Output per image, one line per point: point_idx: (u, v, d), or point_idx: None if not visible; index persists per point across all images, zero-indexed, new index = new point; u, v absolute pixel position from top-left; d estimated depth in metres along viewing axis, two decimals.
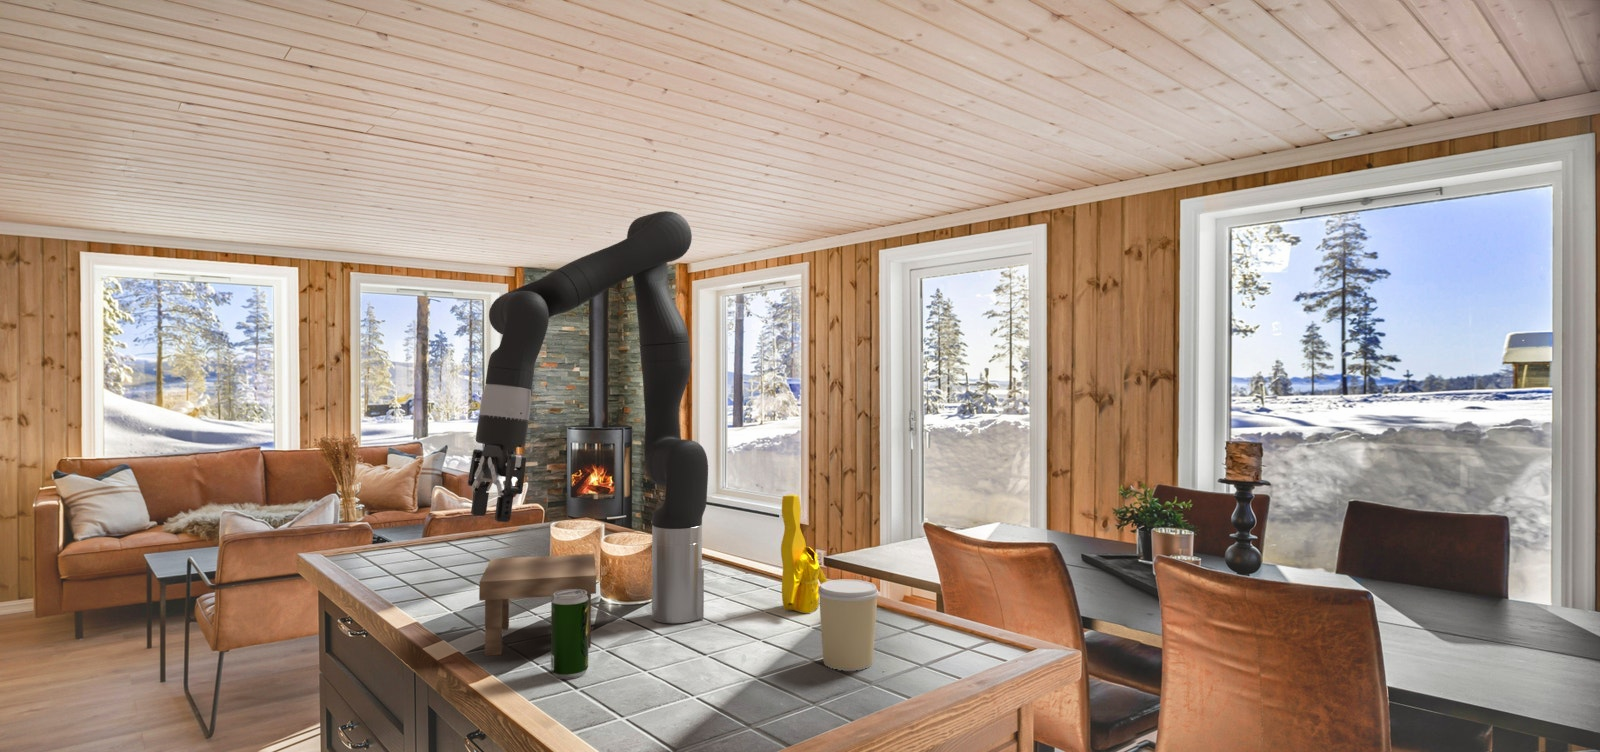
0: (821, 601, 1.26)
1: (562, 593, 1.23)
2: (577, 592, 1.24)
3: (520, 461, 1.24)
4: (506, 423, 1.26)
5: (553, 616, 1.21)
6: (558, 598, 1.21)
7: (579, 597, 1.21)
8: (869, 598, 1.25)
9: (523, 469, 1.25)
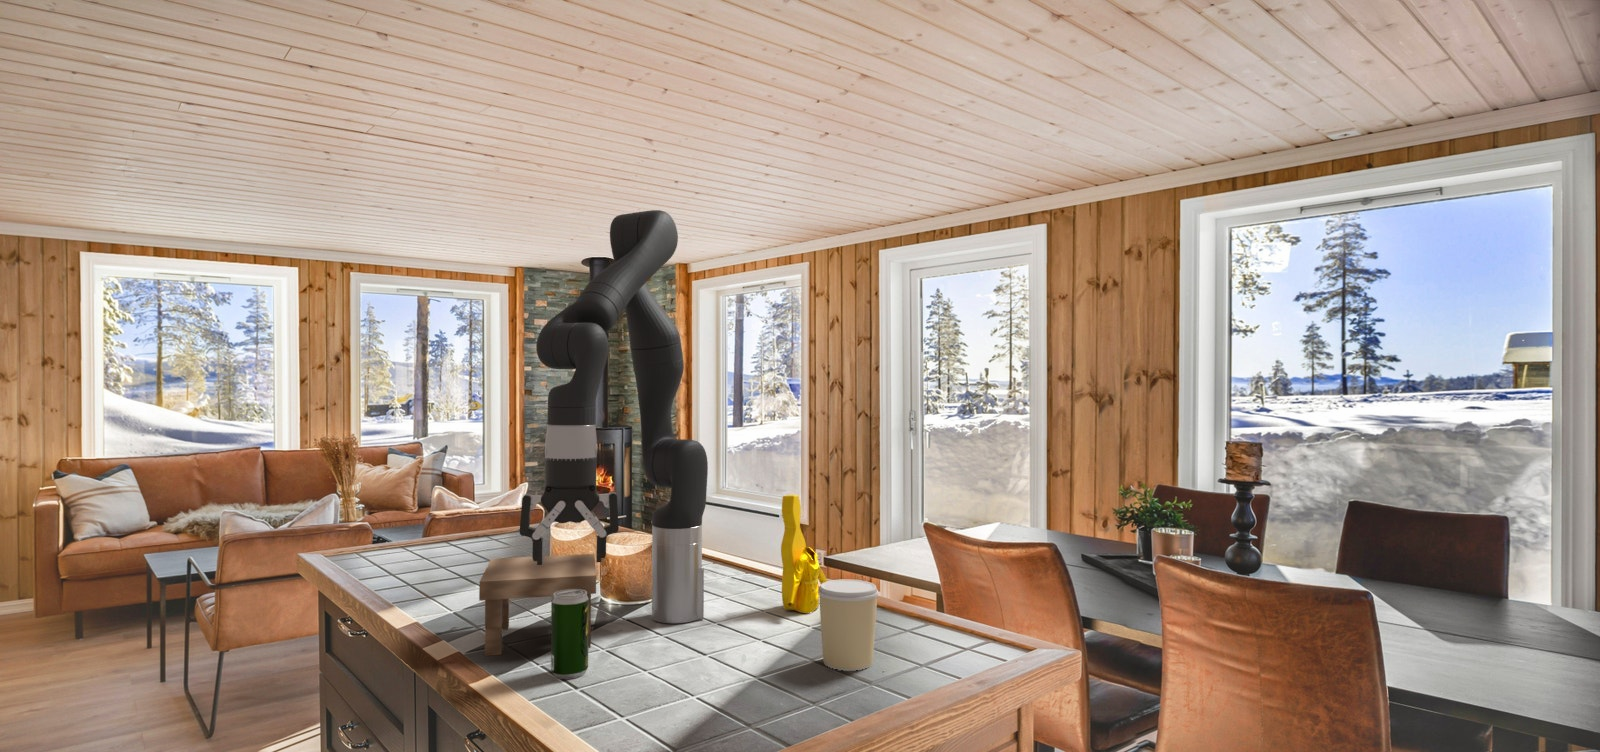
0: (821, 601, 1.26)
1: (562, 593, 1.23)
2: (577, 592, 1.24)
3: None
4: (595, 463, 1.23)
5: (553, 616, 1.21)
6: (558, 598, 1.21)
7: (579, 597, 1.21)
8: (869, 598, 1.25)
9: None
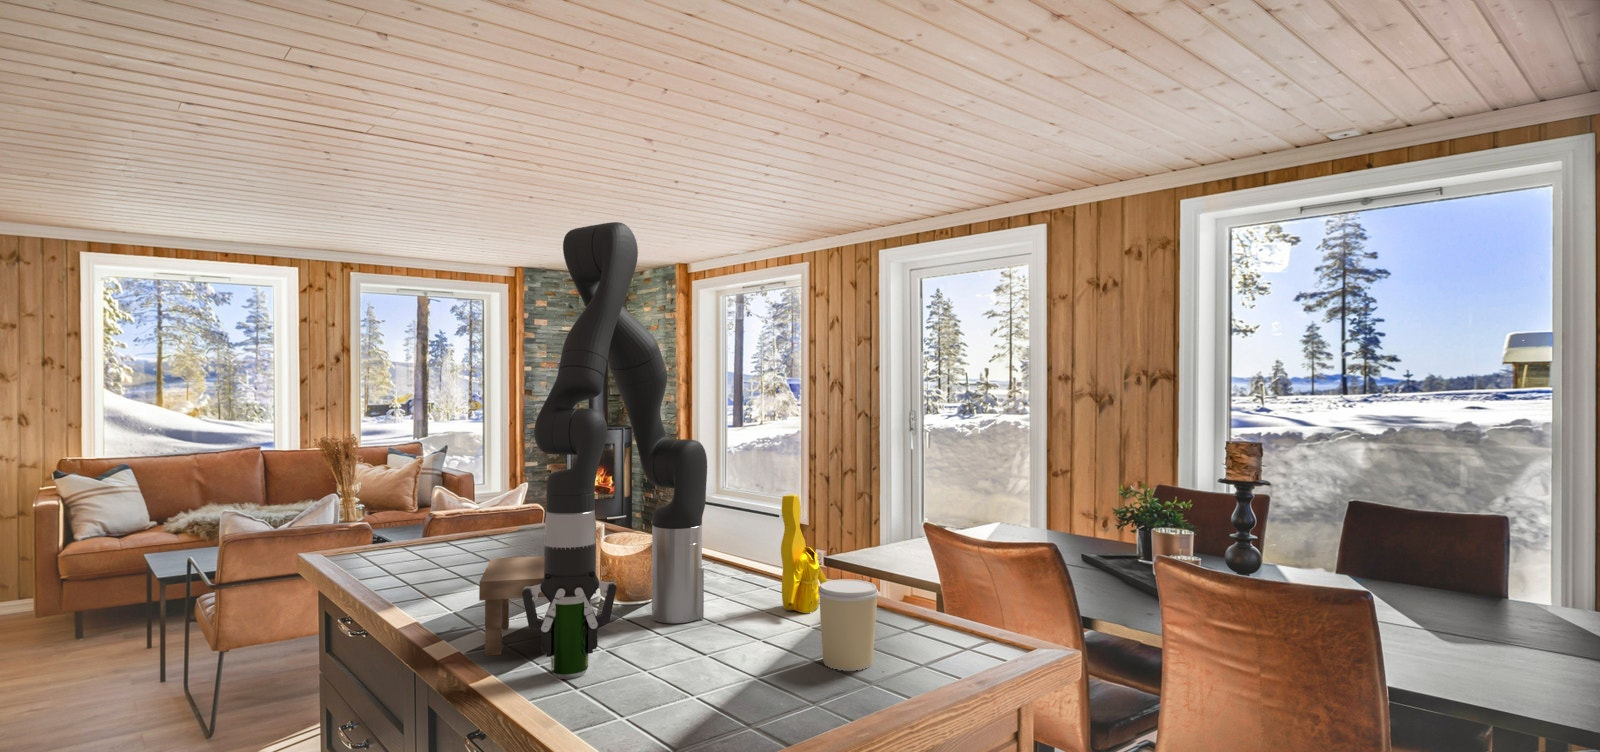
0: (821, 601, 1.26)
1: None
2: None
3: None
4: (594, 549, 1.23)
5: None
6: None
7: (579, 597, 1.21)
8: (869, 598, 1.25)
9: None
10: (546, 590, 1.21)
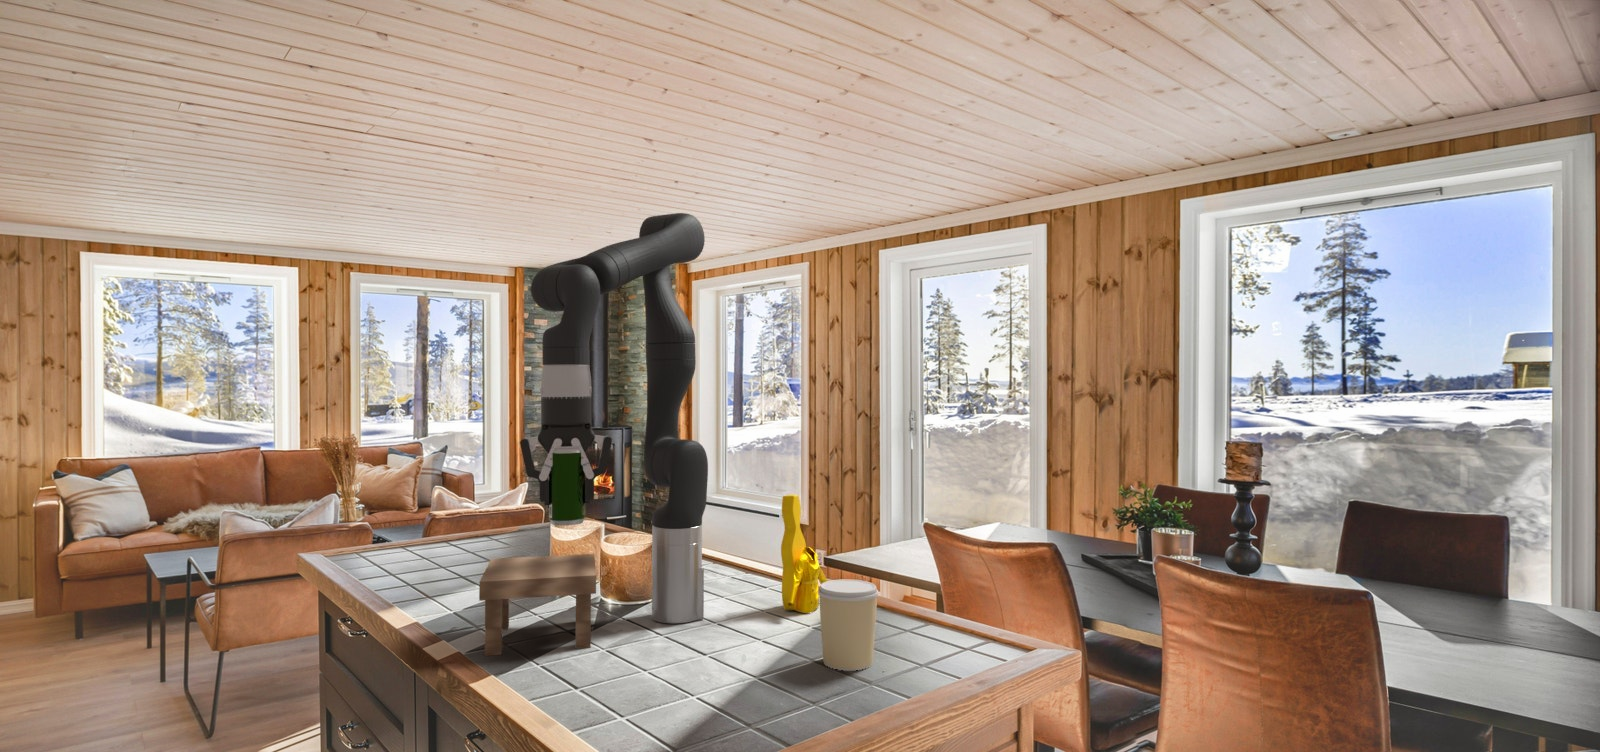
0: (821, 601, 1.26)
1: None
2: None
3: None
4: (590, 402, 1.26)
5: None
6: None
7: (576, 447, 1.25)
8: (869, 598, 1.25)
9: None
10: (543, 440, 1.25)
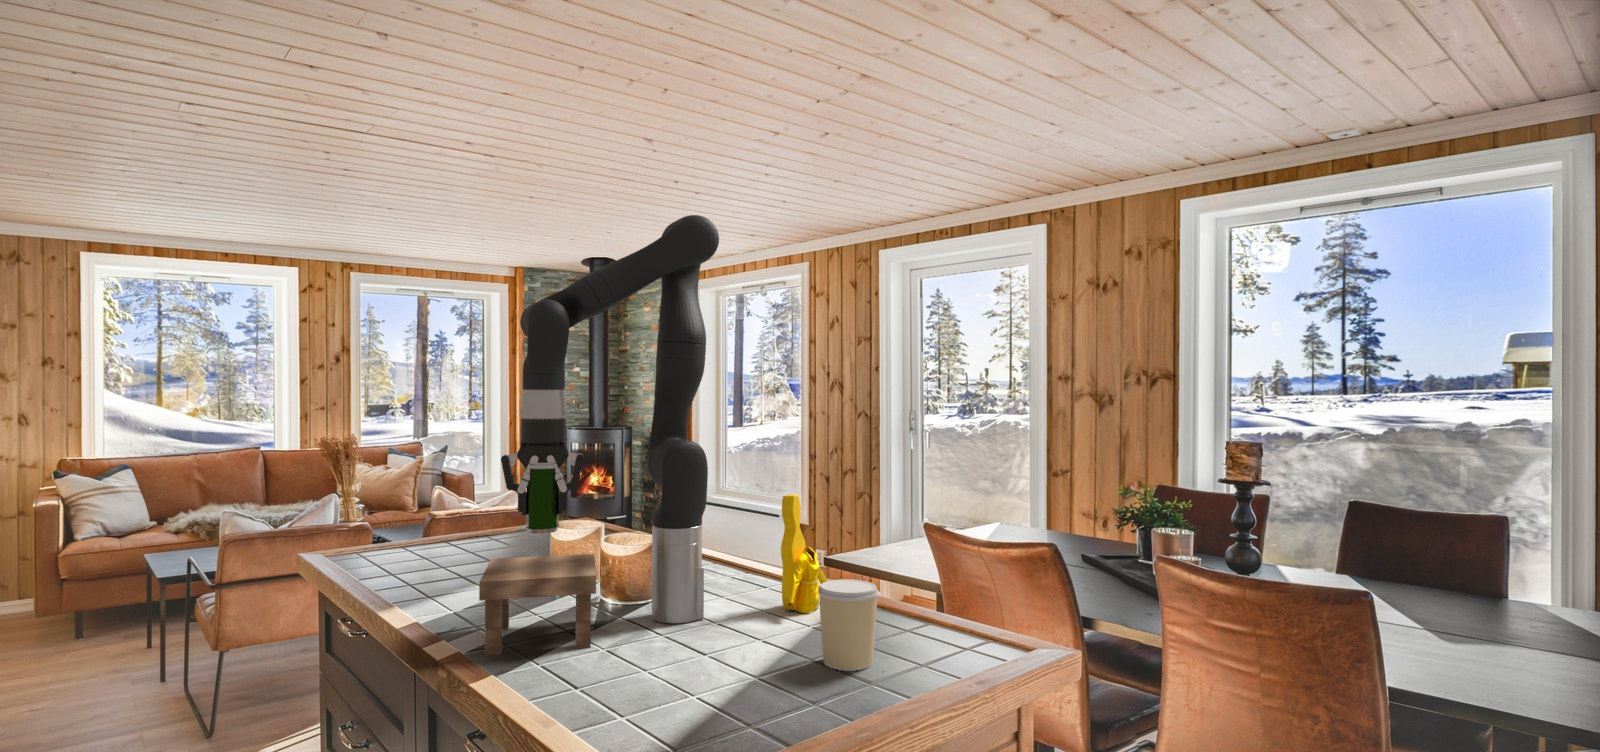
0: (821, 601, 1.26)
1: None
2: None
3: None
4: (564, 423, 1.41)
5: None
6: None
7: (550, 463, 1.40)
8: (869, 598, 1.25)
9: None
10: (522, 457, 1.39)
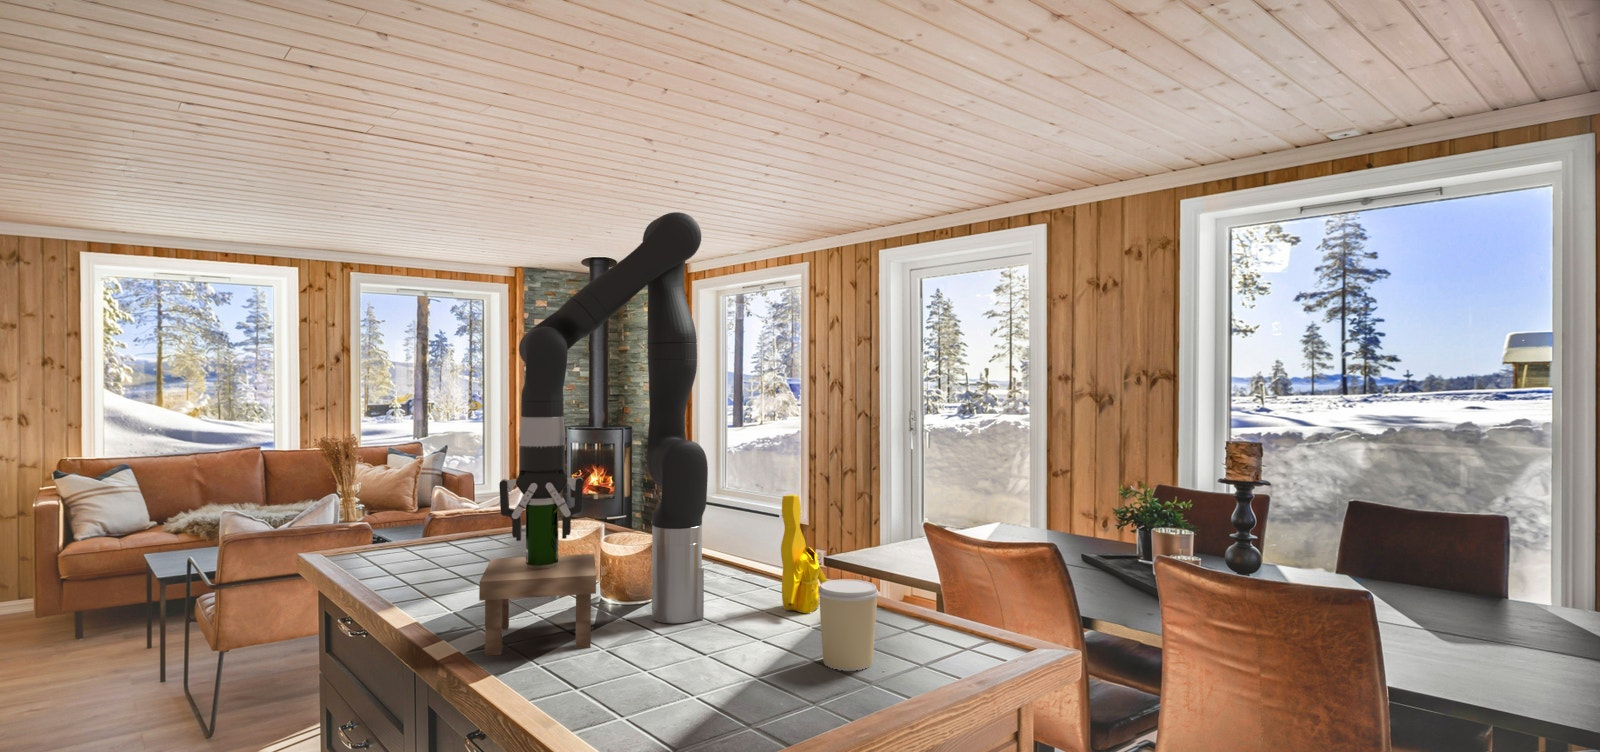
0: (821, 601, 1.26)
1: None
2: None
3: None
4: (563, 450, 1.41)
5: (527, 515, 1.39)
6: (531, 500, 1.39)
7: (549, 499, 1.39)
8: (869, 598, 1.25)
9: None
10: (521, 484, 1.39)
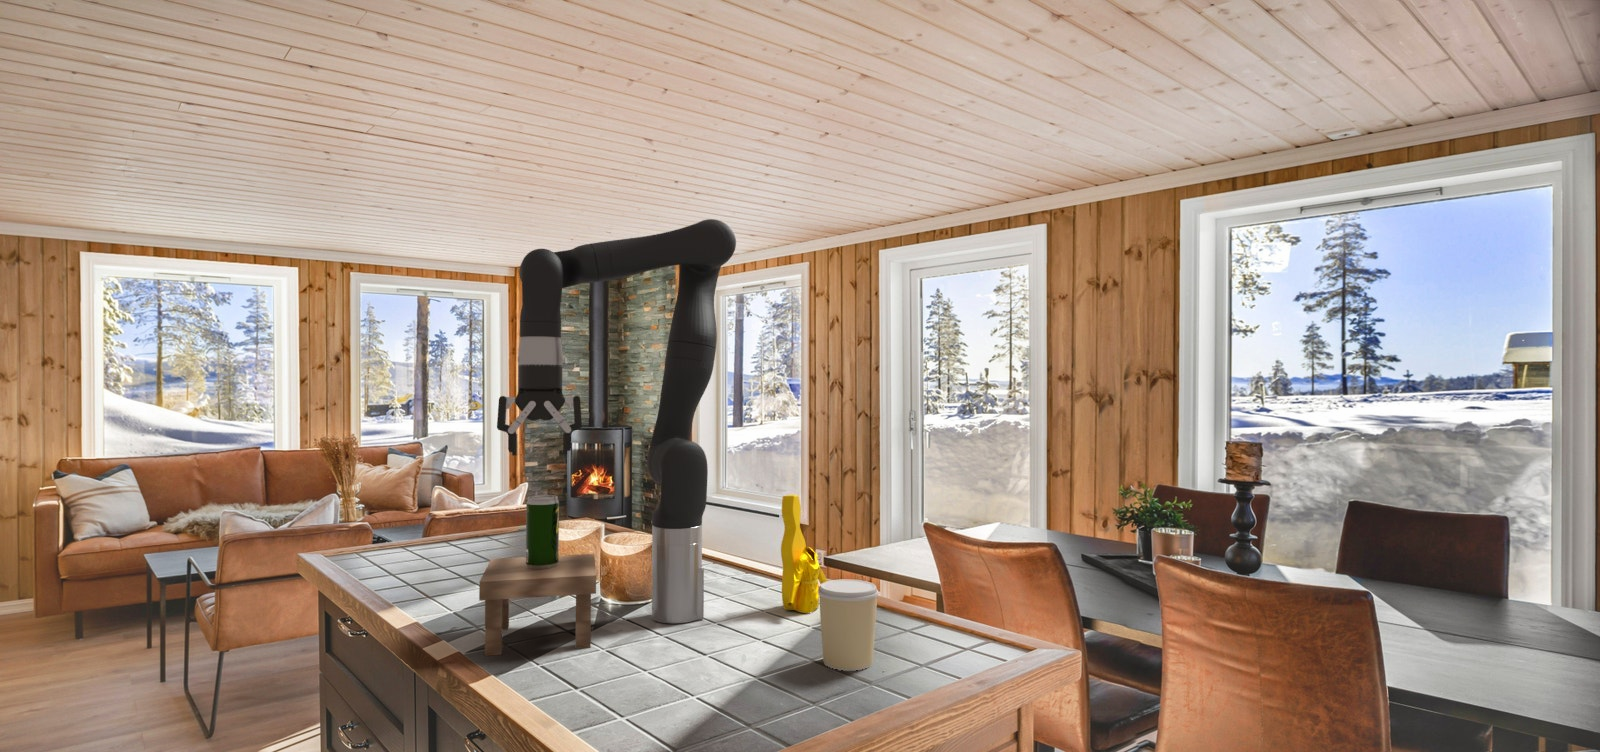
0: (821, 601, 1.26)
1: (536, 497, 1.41)
2: (549, 497, 1.42)
3: None
4: (561, 370, 1.45)
5: (527, 515, 1.39)
6: (532, 499, 1.39)
7: (550, 499, 1.40)
8: (869, 598, 1.25)
9: None
10: (519, 402, 1.43)
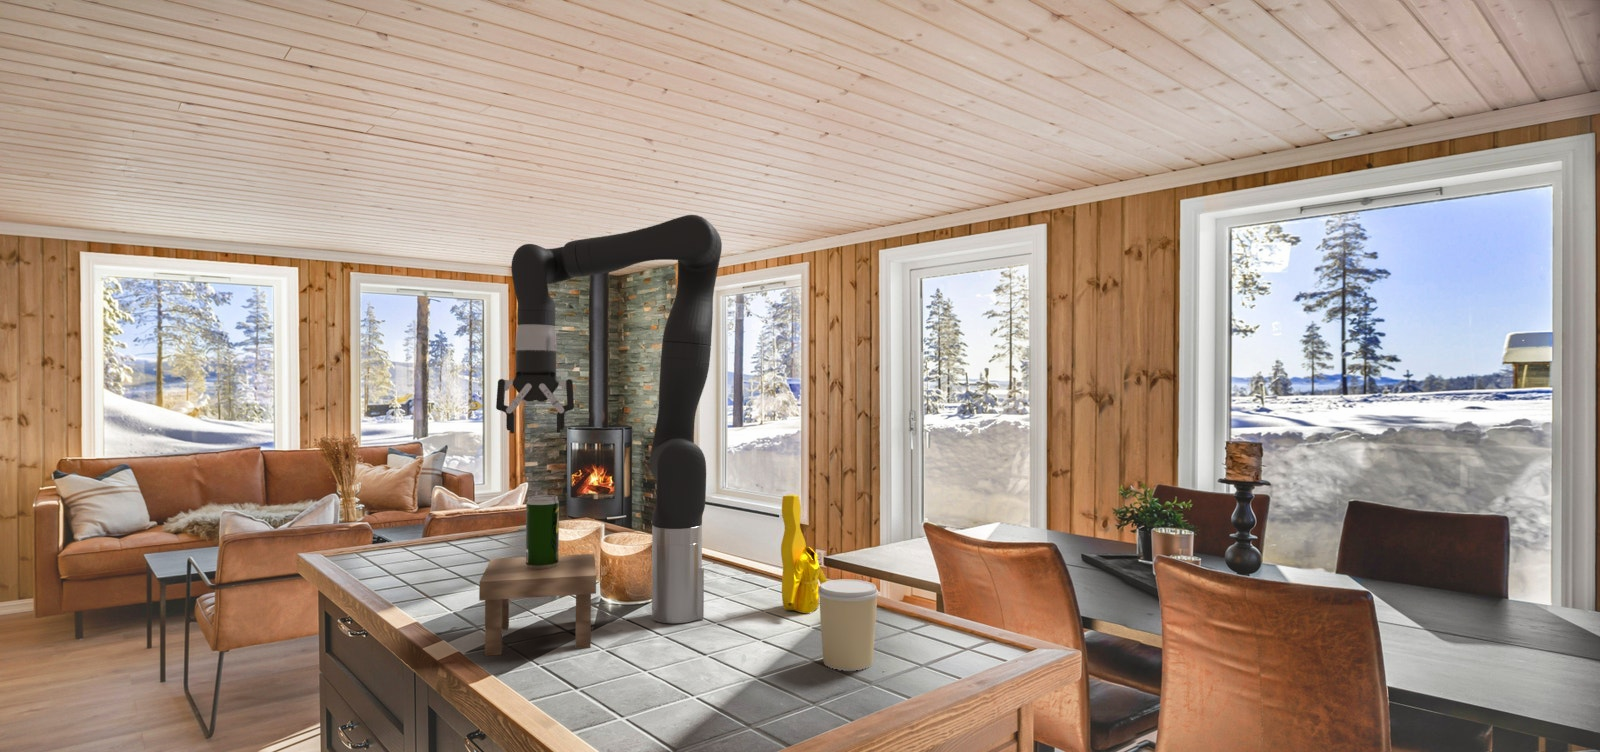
0: (821, 601, 1.26)
1: (536, 497, 1.41)
2: (549, 497, 1.42)
3: None
4: (555, 355, 1.58)
5: (527, 515, 1.39)
6: (532, 500, 1.39)
7: (550, 499, 1.40)
8: (869, 598, 1.25)
9: None
10: (517, 385, 1.56)
